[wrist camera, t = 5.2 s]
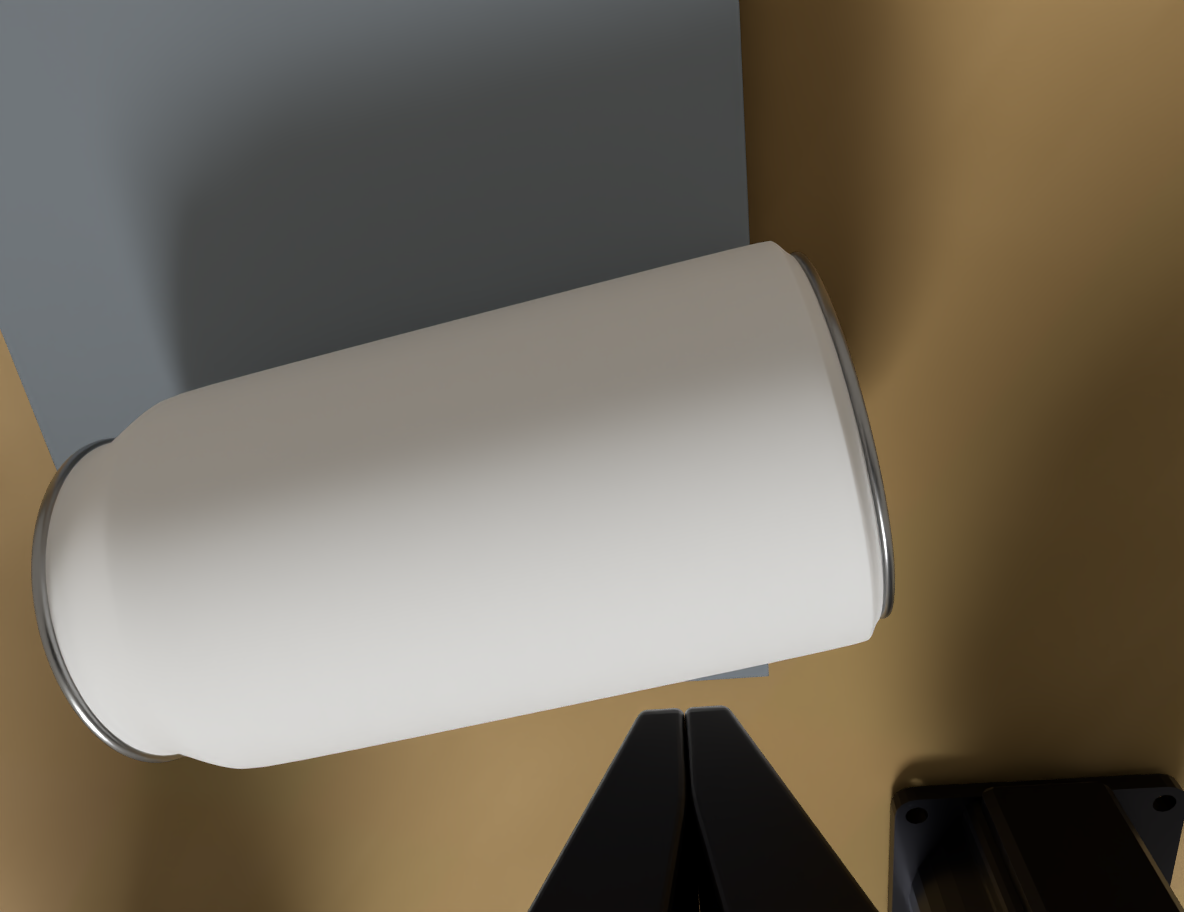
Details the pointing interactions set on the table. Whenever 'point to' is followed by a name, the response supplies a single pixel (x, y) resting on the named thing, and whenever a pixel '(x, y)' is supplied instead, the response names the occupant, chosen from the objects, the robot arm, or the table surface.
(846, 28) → the table surface
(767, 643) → the can
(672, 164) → the mat
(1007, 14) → the table surface
